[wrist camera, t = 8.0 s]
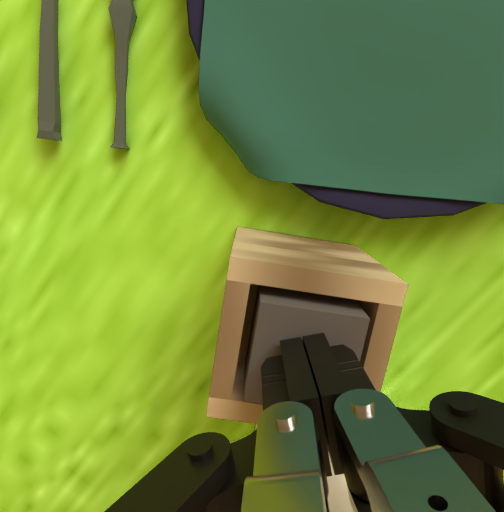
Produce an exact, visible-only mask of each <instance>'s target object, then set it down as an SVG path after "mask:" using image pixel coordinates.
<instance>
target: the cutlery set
mask: <svg viewBox="0 0 504 512" xmlns="http://www.w3.org/2000/svg"><path fill="white" fill-rule="evenodd" d="M187 11H188V24H189V34H190V37H191V40H192V42H193V45H194V47H195V50H196V53H197V55H198V58H199V60H200V64H199V97H200V105H201V108H202V110H203V113H204V115H205V117H206V119H207V120H208V121H209V122H210V123H211V124H212V125H213V126H214V127H215V128H216V130H217V131H218V132H219V133H220V134H221V135H222V136H223V137H224V138H225V139H226V141H227V142H228V143H229V144H230V146H231V147H232V148H233V149H234V151H235V152H236V153H237V155H238V156H239V158H240V159H241V161H242V162H243V164H244V166H245V167H246V169H247V170H248V171H249V172H250V173H252V174H253V175H255V176H257V177H258V178H263V179H267V180H271V181H279V182H288V183H292V184H293V185H295V186H296V187H298V188H299V189H301V190H303V191H304V192H306V193H307V194H309V195H310V196H312V197H313V198H315V199H316V200H318V201H319V202H322V203H326V204H330V205H334V206H337V207H341V208H345V209H349V210H352V211H356V212H360V213H363V214H367V215H371V216H375V217H378V218H382V219H395V218H414V217H432V216H451V215H455V214H458V213H461V212H463V211H466V210H469V209H471V208H474V207H477V206H479V205H482V204H485V203H497V204H504V0H187ZM109 12H110V16H111V21H112V25H113V30H114V34H115V39H116V52H115V74H116V90H117V101H116V118H115V136H114V143H113V144H112V146H111V147H114V148H123V149H130V148H129V147H128V146H127V145H126V86H127V75H128V50H129V40H130V37H131V34H132V31H133V28H134V25H135V22H136V18H137V16H136V12H135V9H134V6H133V0H112V2H111V4H110V6H109ZM38 129H39V130H38V135H37V138H41V139H50V140H60V141H62V138H61V133H60V132H61V115H60V96H59V62H58V0H42V7H41V22H40V54H39V97H38Z"/></svg>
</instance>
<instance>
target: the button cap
mask: <svg viewBox="0 0 504 512" xmlns="http://www.w3.org/2000/svg"><path fill="white" fill-rule="evenodd" d="M369 322H370V318H369V317H368V315H367V314H366V313H365V312H364V310H363V309H362V308H361V307H360V305H359V304H358V303H357V302H356V300H355V299H348V298H342V297H335V296H329V295H322V294H316V293H309V292H303V291H296V290H290V289H283V288H277V287H270V286H263V285H258V290H257V296H256V302H255V307H254V313H253V319H252V325H251V331H250V337H249V343H248V348H247V354H246V360H245V371H244V400H243V401H246V402H253V403H260V404H263V401H262V381H261V378H262V377H261V366H262V364H263V363H264V361H265V360H266V358H268V357H274V356H279V355H282V352H281V346H280V340H285V339H291V338H296V337H301V339H302V336H307V335H313V334H318V333H324V334H325V336H326V338H327V341H328V343H329V345H330V346H335V345H341V344H343V345H345V346H347V347H349V348H350V349H352V350H353V351H354V352H355V354H356V356H357V358H358V360H359V361H360V359H361V355H362V351H363V347H364V342H365V338H366V334H367V330H368V326H369ZM302 343H303V339H302ZM303 346H304V345H303Z"/></svg>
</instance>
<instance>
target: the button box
mask: <svg viewBox="0 0 504 512" xmlns="http://www.w3.org/2000/svg"><path fill="white" fill-rule="evenodd" d="M258 285H263V286H270V287H277V288H283V289H290V290H296V291H303V292H309V293H316V294H322V295H329V296H335V297H342V298H348V299H355V300H356V302H357V303H358V304H359V305H360V307H361V308H362V309H363V310H364V312H365V313H366V314H367V315H368V317H369V318H370V322H369V326H368V330H367V334H366V338H365V342H364V347H363V351H362V355H361V359H360V363H361V365H362V367H363V368H364V370H365V372H366V374H367V375H368V377H369V379H370V381H371V382H372V384H373V386H374V388H375V389H376V391H379V392H380V391H381V388H382V384H383V380H384V376H385V372H386V368H387V365H388V361H389V357H390V353H391V349H392V345H393V342H394V338H395V334H396V330H397V326H398V322H399V319H400V315H401V311H402V307H403V303H404V299H405V295H406V292H407V288H408V284H407V283H406V282H405V281H403V280H402V279H400V278H399V277H398V276H396V275H395V274H394V273H392V272H391V271H389V270H388V269H387V268H385V267H384V266H383V265H381V264H380V263H378V262H377V261H376V260H374V259H373V258H372V257H370V256H369V255H368V254H366V253H365V252H363V251H362V250H361V249H359V248H358V247H357V246H355V245H351V244H345V243H338V242H332V241H326V240H319V239H313V238H307V237H300V236H294V235H288V234H281V233H275V232H269V231H263V230H256V229H250V228H244V227H237V230H236V234H235V238H234V243H233V247H232V251H231V255H230V260H229V267H228V274H227V280H226V287H225V293H224V300H223V307H222V313H221V320H220V326H219V333H218V340H217V346H216V353H215V360H214V366H213V373H212V379H211V386H210V393H209V399H208V406H207V412H206V417H212V418H220V419H227V420H234V421H241V422H248V423H255V424H258V418H259V416H260V414H261V413H262V412H263V404H260V403H253V402H246V401H243V400H244V371H245V360H246V354H247V348H248V343H249V337H250V331H251V325H252V319H253V313H254V307H255V302H256V296H257V290H258Z"/></svg>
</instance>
